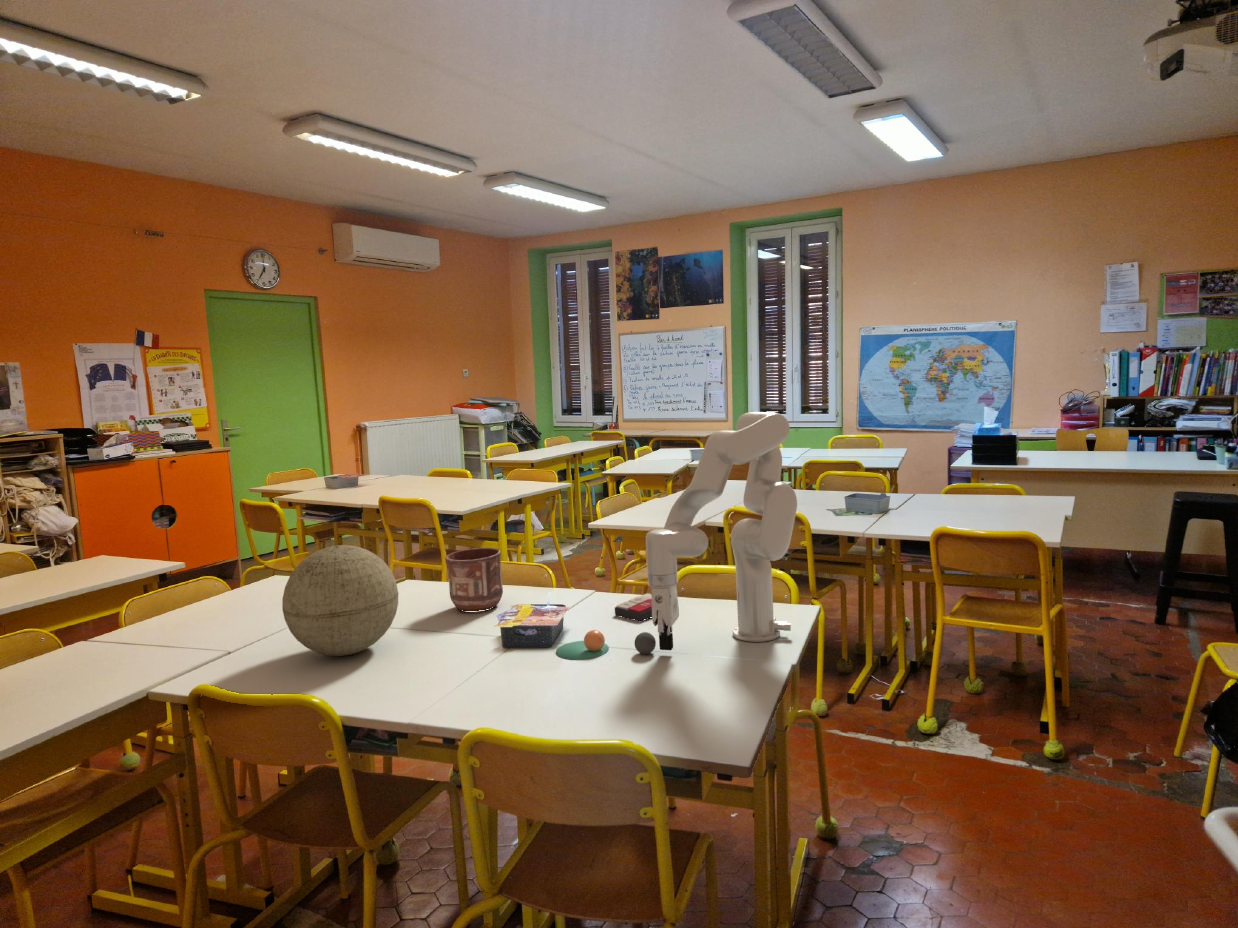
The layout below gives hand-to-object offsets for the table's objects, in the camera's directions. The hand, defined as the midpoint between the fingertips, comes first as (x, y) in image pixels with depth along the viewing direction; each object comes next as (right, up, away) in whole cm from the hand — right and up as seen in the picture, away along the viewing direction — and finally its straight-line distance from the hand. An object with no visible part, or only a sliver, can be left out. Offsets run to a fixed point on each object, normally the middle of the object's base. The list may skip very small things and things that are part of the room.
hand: (666, 648), depth 193 cm
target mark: (-22, -2, +7) cm, 23 cm away
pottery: (-58, 0, +53) cm, 79 cm away
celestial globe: (-88, -5, +16) cm, 89 cm away
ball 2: (-5, +1, +2) cm, 6 cm away
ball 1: (-19, +1, +6) cm, 20 cm away
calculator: (-4, +1, +37) cm, 38 cm away
